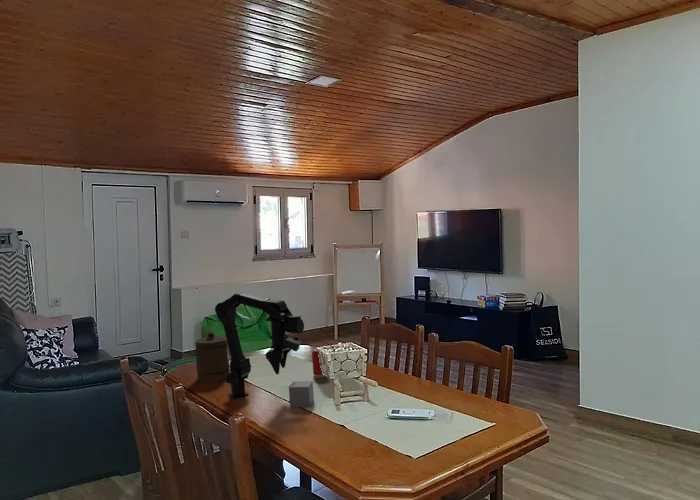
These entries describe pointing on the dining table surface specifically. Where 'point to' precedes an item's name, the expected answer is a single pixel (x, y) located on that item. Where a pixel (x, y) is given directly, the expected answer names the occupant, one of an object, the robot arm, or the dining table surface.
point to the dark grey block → (301, 394)
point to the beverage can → (316, 364)
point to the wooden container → (212, 358)
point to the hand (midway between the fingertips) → (280, 370)
